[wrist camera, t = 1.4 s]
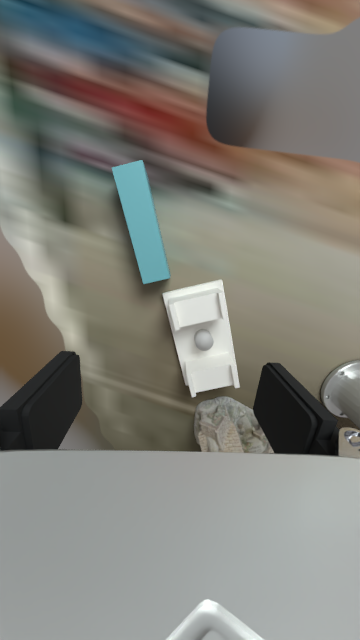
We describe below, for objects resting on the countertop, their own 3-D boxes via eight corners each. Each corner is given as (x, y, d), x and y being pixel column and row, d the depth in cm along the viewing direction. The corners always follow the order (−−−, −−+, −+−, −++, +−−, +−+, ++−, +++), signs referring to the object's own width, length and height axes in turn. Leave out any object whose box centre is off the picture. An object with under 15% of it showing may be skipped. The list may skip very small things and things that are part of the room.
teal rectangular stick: (146, 173, 31) (142, 159, 26) (170, 275, 35) (169, 278, 31) (120, 180, 31) (111, 167, 26) (147, 280, 35) (143, 284, 31)
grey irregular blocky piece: (272, 450, 46) (312, 535, 31) (197, 457, 47) (203, 541, 32) (270, 387, 42) (314, 449, 28) (189, 395, 43) (191, 459, 29)
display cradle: (220, 279, 35) (229, 283, 29) (236, 371, 40) (246, 391, 34) (162, 292, 35) (160, 299, 30) (185, 382, 41) (187, 403, 35)
